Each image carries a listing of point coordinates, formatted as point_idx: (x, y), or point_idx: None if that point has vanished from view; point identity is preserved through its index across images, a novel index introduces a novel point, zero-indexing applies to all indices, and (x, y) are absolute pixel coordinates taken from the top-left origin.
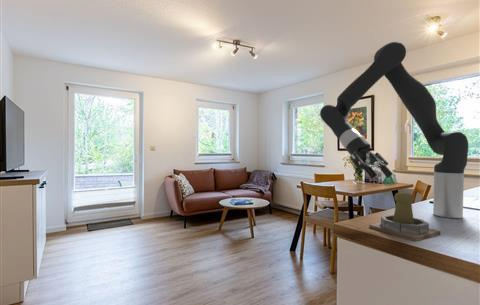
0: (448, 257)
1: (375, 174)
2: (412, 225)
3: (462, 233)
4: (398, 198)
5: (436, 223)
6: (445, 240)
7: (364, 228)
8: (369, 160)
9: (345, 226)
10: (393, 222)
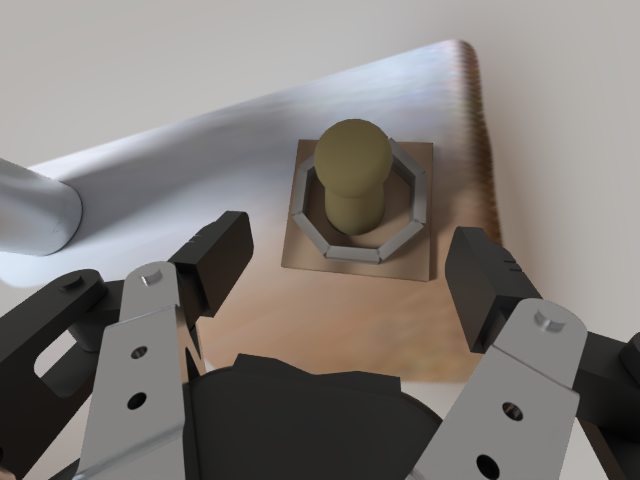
0: (474, 68)
1: (479, 231)
2: (403, 149)
3: (241, 124)
4: (391, 163)
5: (182, 196)
6: (347, 118)
7: None
8: (495, 354)
9: None
10: (426, 194)
